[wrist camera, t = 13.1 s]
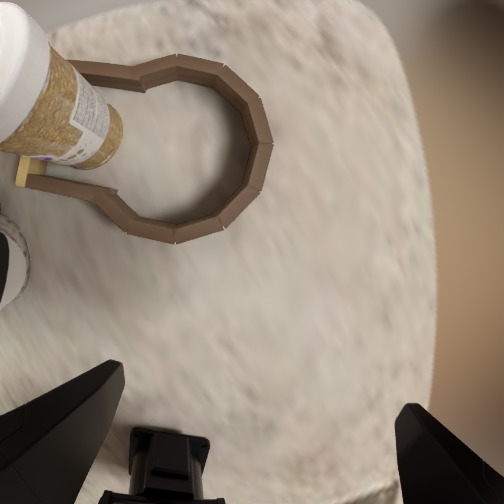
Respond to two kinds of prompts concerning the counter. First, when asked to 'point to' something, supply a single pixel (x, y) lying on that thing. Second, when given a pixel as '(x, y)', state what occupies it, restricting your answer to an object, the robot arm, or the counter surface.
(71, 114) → the sprinkles bottle
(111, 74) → the keyhole guide
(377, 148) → the counter surface
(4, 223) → the mug
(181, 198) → the counter surface
